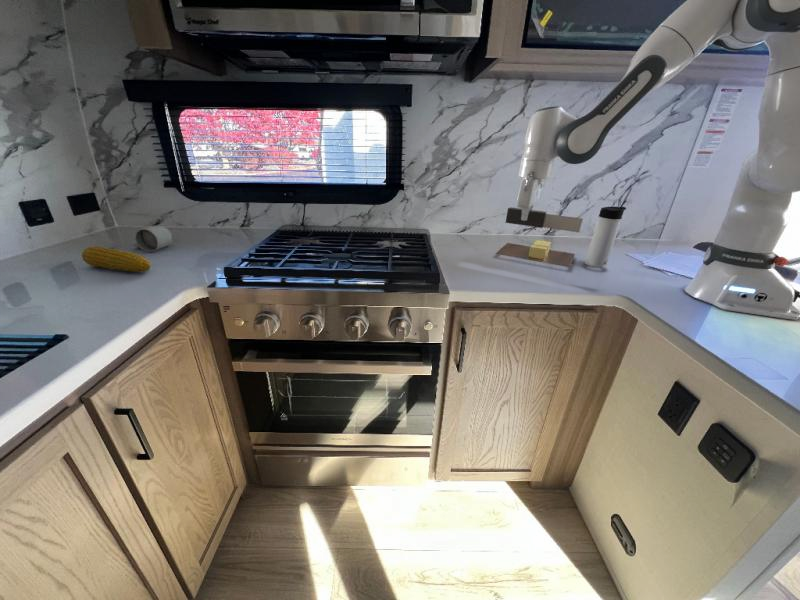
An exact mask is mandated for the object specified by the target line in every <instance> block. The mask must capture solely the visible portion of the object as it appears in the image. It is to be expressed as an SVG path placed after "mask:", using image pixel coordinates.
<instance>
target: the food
mask: <svg viewBox="0 0 800 600" xmlns="http://www.w3.org/2000/svg"><path fill="white" fill-rule="evenodd" d="M81 258H82V260H83V261H84V263H85V264H87V265H90V266H93V267H98V268H103V269H110V270H115V271H125V272H131V273H132V272H135V273H141V272H146V271H149V270H150V269H151V264H150V263H151V262H150V261H149V260H148V259H147V258H146V257H145V256H143V255H142V256H141V255H140V254H137V253H135V252H129V251H124V250H119V249H113V248H108V247H101V246H88V247H86V248H85V249H84V250H83V251H82V252H81Z"/></svg>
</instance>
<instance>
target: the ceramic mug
mask: <svg viewBox="0 0 800 600" xmlns="http://www.w3.org/2000/svg"><path fill="white" fill-rule="evenodd" d="M134 241H135V243H134V247H135V248H136V249H140V250H142V251H144V252H147V253H153V252H156V251H158V250H161V249H163V248H166V247H168V246H169V245H171V244H172V242H173V233H172V232H171V231H170V229H168V228H167V227H165V226H163V225H152V226H149V227H142V228H139V229H138V230H136V232H135V235H134Z"/></svg>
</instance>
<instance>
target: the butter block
mask: <svg viewBox="0 0 800 600" xmlns="http://www.w3.org/2000/svg"><path fill="white" fill-rule="evenodd" d="M551 243H552V242H551V241H547V240H541V239H536V240H535V241H534V242H533V243H532V245H537V246H543V247H547V252H546V255H547V253H548V252H549V250H550V247H551Z"/></svg>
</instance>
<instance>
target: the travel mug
mask: <svg viewBox="0 0 800 600" xmlns="http://www.w3.org/2000/svg"><path fill="white" fill-rule="evenodd" d="M626 210H627V207H625V206H603V207H601V208H600V211H599V214H598V217H597V220H596V224H595V227H594V230H593V234H592V237H591V240H590V243H589V247H588V250H587V254H586V257H585V261H584V263H585V264H586V265H588V266H590V267H595V268H602V271H603V272H604V271H605V270H606V268H607V265H608V262H609V260H610V256H611V253H612V250H613V247H614V245H615V244H614V243H615V240H616V237H617V235H618V231H619V228H620V225H621V222H622V218H623V215H624V212H625V211H626Z"/></svg>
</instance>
